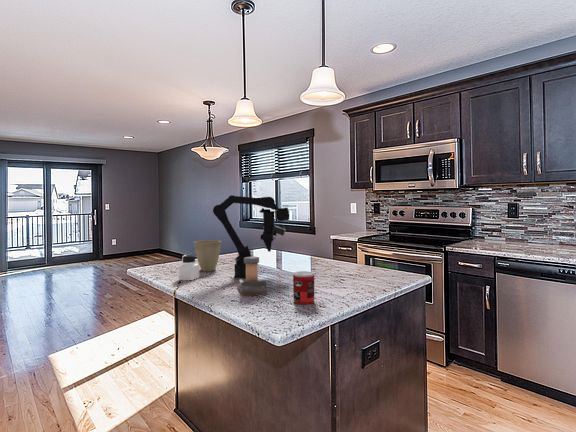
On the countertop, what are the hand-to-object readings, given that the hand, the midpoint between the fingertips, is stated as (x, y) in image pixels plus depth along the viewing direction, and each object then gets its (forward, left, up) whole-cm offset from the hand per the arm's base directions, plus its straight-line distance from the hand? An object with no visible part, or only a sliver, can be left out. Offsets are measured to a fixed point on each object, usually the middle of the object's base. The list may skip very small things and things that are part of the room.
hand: (269, 251), depth 184 cm
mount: (-4, -31, -12) cm, 34 cm away
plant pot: (-36, +12, -12) cm, 40 cm away
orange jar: (-3, -33, -10) cm, 35 cm away
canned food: (+19, -47, -12) cm, 52 cm away
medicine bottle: (-39, -10, -12) cm, 42 cm away
